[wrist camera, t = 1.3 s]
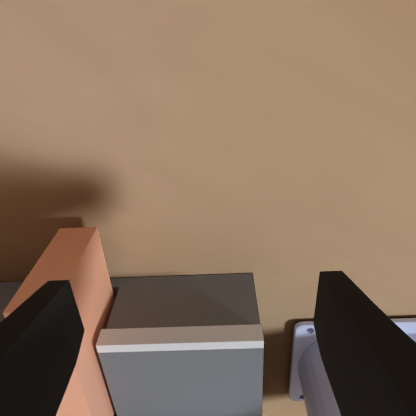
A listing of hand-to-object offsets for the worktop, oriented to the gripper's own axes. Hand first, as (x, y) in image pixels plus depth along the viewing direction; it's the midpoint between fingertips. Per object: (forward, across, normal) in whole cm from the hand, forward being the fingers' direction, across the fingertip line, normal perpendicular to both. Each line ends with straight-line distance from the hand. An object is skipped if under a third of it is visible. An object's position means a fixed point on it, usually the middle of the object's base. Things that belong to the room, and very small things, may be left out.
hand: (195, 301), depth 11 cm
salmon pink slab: (+8, +7, +7) cm, 13 cm away
